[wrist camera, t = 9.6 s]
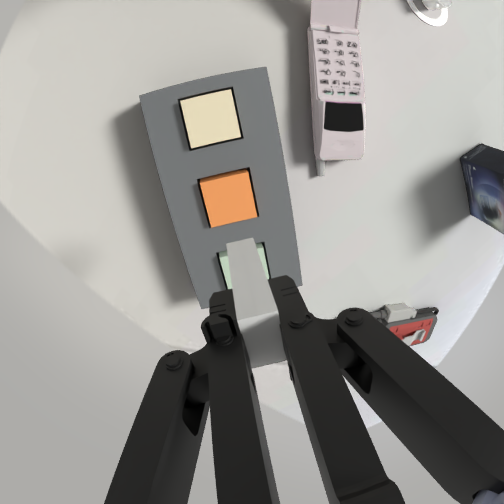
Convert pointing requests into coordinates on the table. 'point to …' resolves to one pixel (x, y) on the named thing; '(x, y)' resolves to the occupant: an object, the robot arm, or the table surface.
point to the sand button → (210, 118)
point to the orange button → (228, 197)
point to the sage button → (225, 263)
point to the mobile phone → (336, 81)
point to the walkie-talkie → (408, 322)
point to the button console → (220, 161)
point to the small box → (485, 184)
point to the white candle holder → (433, 2)
